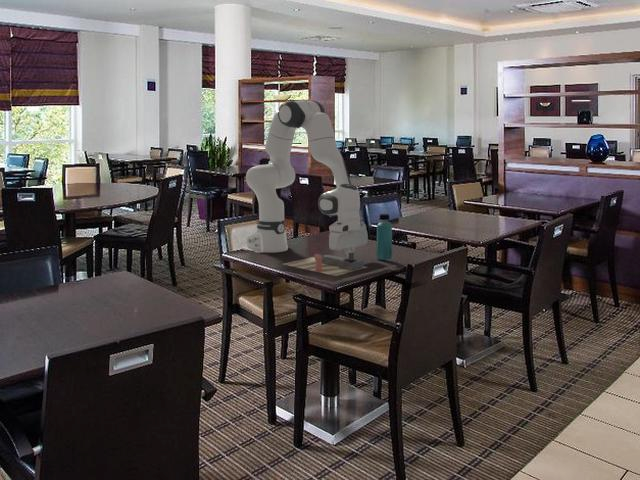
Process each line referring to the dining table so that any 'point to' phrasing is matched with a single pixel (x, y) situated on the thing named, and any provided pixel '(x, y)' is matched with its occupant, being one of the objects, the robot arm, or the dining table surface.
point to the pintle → (351, 257)
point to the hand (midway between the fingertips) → (349, 258)
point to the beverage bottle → (384, 238)
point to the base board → (326, 269)
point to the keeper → (318, 262)
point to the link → (342, 262)
